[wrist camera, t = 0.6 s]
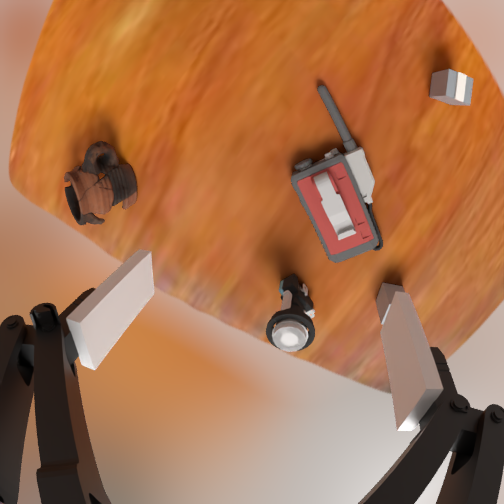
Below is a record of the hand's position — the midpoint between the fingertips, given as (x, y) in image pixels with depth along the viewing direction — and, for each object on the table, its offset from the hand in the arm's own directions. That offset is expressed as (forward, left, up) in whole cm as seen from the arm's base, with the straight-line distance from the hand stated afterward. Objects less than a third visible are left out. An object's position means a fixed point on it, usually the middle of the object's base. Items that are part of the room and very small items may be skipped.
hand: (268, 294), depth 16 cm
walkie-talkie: (-2, +4, -23) cm, 23 cm away
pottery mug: (+2, -25, -22) cm, 33 cm away
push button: (+14, +3, -22) cm, 26 cm away
